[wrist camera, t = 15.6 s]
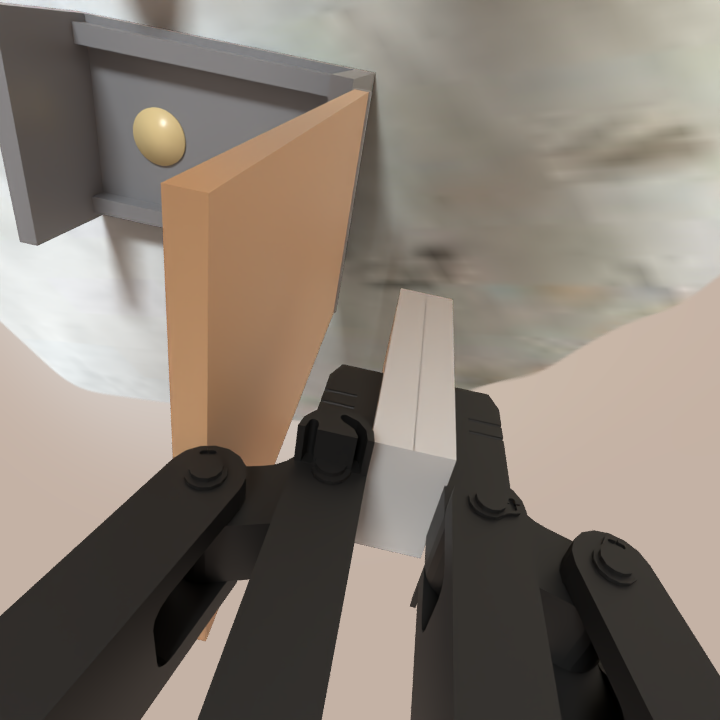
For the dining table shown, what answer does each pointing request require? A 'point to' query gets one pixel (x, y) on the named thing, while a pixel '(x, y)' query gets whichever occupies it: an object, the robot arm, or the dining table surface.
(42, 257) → the dining table surface
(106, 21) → the housing
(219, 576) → the robot arm
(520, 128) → the dining table surface
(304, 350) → the tan rectangular panel
